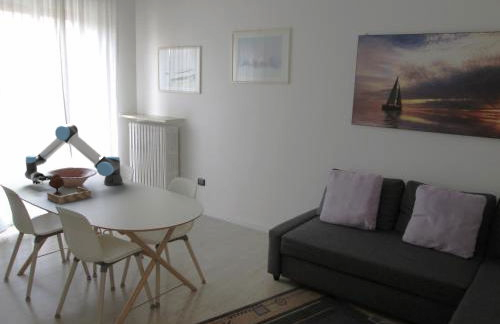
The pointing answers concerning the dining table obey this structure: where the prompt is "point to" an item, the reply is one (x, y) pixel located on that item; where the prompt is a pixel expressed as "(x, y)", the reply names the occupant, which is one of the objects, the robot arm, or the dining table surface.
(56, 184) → the ice cream bowl
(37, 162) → the robot arm
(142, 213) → the dining table surface
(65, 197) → the bay
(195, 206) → the dining table surface
